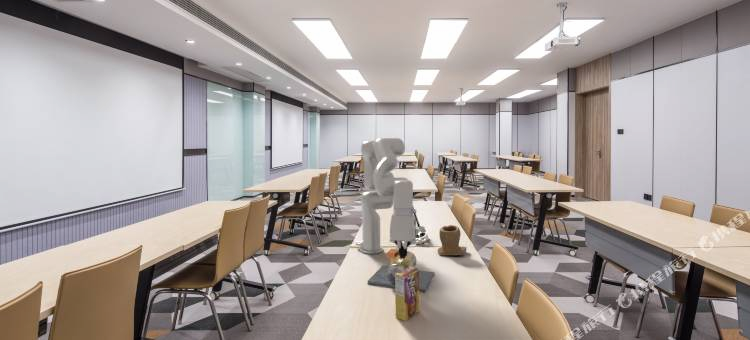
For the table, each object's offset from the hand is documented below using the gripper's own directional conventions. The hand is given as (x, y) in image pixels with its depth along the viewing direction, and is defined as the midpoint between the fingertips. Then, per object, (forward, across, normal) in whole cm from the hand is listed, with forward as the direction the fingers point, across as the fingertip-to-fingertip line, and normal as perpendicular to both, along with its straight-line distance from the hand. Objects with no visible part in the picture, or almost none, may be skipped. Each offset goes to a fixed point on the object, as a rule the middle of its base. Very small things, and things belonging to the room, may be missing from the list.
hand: (402, 257), depth 138 cm
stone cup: (+13, -13, -48) cm, 51 cm away
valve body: (+13, +3, -9) cm, 16 cm away
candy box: (+13, -7, +19) cm, 24 cm away
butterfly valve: (+13, +8, -66) cm, 67 cm away
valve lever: (0, +3, -4) cm, 5 cm away
